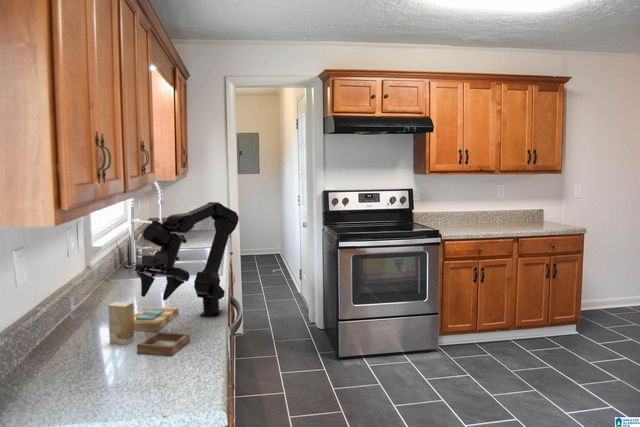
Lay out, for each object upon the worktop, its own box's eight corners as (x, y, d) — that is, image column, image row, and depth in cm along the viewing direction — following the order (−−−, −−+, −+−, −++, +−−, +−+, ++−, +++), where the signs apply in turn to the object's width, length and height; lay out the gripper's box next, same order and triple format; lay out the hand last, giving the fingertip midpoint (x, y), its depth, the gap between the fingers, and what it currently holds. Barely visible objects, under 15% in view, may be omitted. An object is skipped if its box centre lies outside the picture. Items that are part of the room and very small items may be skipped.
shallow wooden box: (146, 313, 187) (146, 304, 186) (178, 314, 185) (178, 305, 185) (123, 330, 169) (122, 320, 169) (157, 331, 168) (157, 321, 167)
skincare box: (109, 343, 157) (106, 304, 156) (118, 338, 161) (115, 301, 160) (127, 345, 156) (125, 306, 154) (136, 340, 160) (133, 302, 158)
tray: (157, 339, 160) (156, 332, 159) (189, 342, 157) (189, 334, 157) (137, 353, 149) (136, 344, 149) (171, 355, 146) (171, 347, 146)
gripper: (130, 240, 163) (113, 288, 158) (174, 244, 155) (157, 294, 149) (154, 252, 172) (139, 297, 167) (196, 256, 164) (182, 304, 158)
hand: (153, 298), depth 160 cm, fingers open, 9 cm apart
